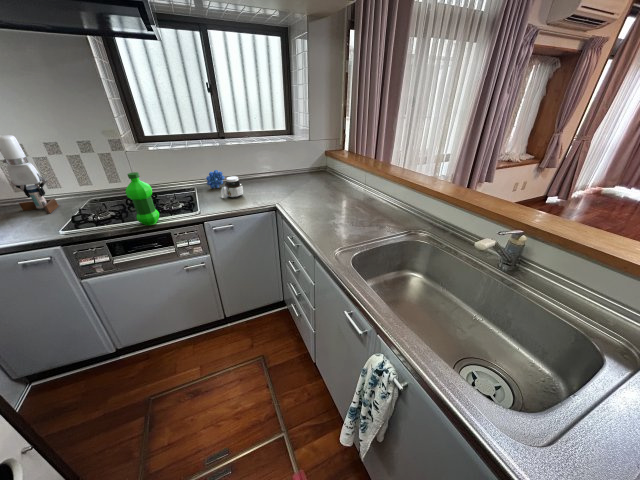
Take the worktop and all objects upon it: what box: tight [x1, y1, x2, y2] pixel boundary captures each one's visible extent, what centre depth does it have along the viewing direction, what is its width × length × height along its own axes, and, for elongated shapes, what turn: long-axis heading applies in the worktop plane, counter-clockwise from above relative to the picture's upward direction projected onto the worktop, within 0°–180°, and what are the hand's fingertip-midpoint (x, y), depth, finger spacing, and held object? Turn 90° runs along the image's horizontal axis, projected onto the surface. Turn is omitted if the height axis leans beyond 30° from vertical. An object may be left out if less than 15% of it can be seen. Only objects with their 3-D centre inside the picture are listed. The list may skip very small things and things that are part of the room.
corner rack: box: [18, 198, 59, 215], centre depth 143 cm, size 15×12×4 cm
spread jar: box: [220, 175, 244, 199], centre depth 161 cm, size 12×11×12 cm
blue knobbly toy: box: [205, 169, 225, 189], centre depth 176 cm, size 12×7×12 cm, turn 116°
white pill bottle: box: [26, 184, 47, 210], centre depth 143 cm, size 5×5×12 cm
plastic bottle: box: [125, 171, 160, 226], centre depth 126 cm, size 10×10×25 cm
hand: (36, 195), depth 142 cm, fingers closed on white pill bottle, 4 cm apart
